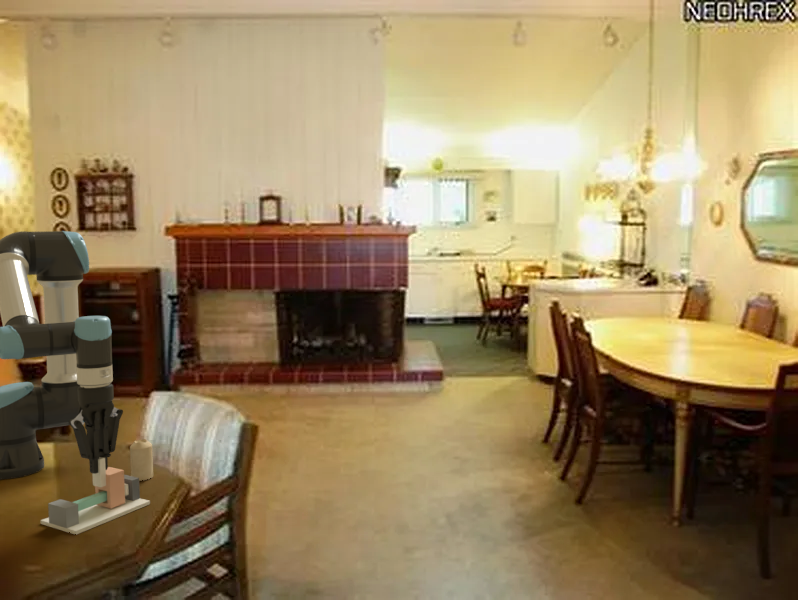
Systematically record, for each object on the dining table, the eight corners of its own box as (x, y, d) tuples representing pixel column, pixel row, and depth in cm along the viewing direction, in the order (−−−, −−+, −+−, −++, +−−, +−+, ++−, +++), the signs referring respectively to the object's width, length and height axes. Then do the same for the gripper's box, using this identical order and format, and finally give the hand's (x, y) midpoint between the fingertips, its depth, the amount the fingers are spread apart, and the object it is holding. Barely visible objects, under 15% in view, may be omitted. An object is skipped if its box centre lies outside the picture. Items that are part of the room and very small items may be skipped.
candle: (148, 481, 187) (147, 443, 186) (127, 481, 187) (126, 443, 187) (156, 474, 193) (155, 437, 192) (135, 474, 193) (134, 437, 192)
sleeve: (95, 504, 168) (94, 471, 168) (110, 499, 172) (108, 466, 171) (110, 508, 166) (109, 475, 165) (125, 503, 169) (123, 470, 168)
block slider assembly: (40, 523, 160) (39, 498, 159) (115, 495, 177) (115, 472, 177) (75, 534, 154) (74, 508, 153) (150, 504, 171) (149, 480, 171)
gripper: (81, 391, 156) (85, 497, 158) (130, 380, 167) (133, 479, 170) (58, 388, 160) (63, 491, 162) (108, 377, 171) (112, 474, 173)
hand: (99, 485), depth 166 cm, fingers closed
